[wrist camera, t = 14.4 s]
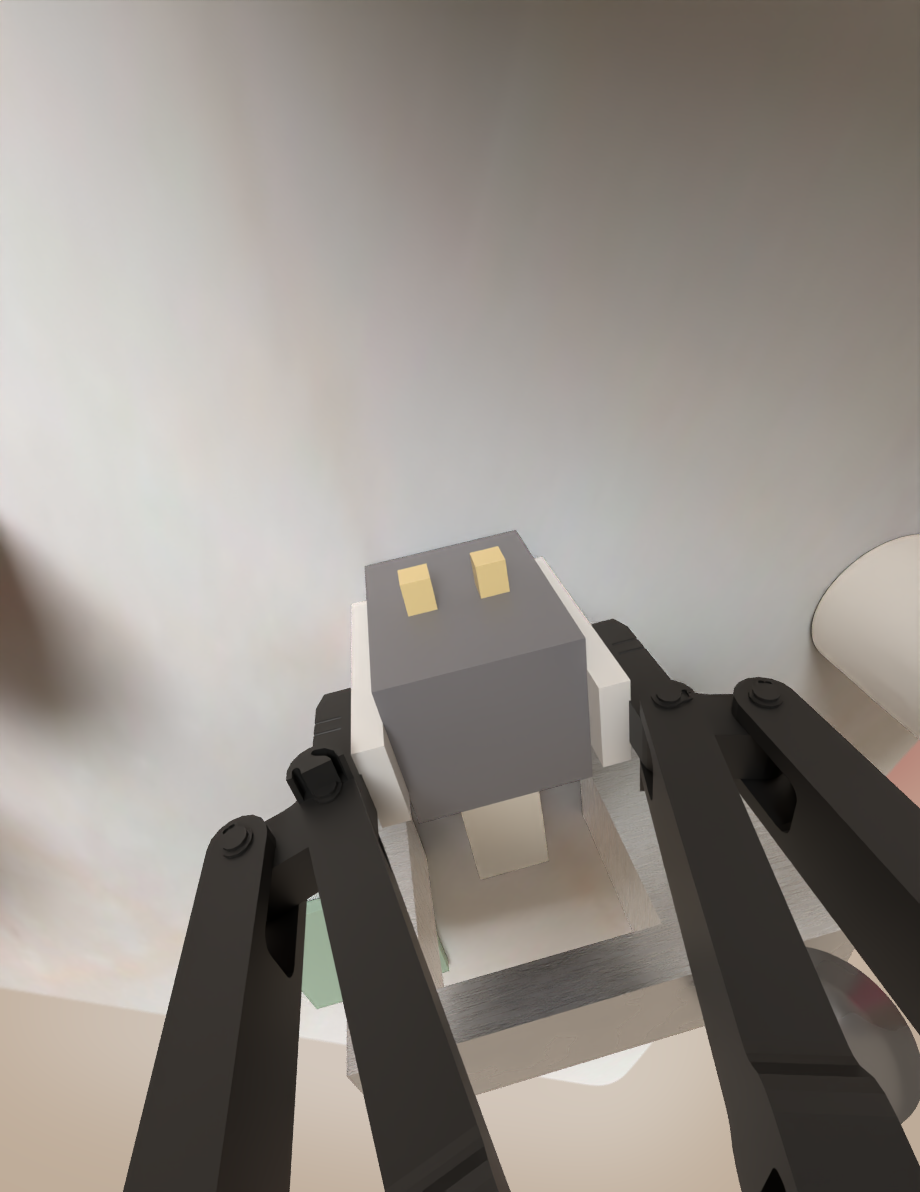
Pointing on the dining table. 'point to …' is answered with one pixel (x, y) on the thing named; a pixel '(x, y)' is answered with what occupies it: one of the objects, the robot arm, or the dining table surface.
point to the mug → (877, 627)
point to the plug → (480, 690)
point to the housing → (631, 964)
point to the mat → (326, 960)
